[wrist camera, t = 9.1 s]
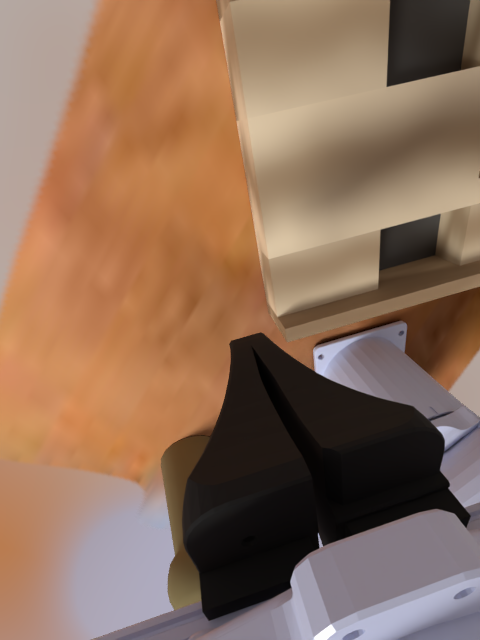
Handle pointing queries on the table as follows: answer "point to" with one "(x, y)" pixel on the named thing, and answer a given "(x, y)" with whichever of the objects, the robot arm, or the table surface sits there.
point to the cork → (175, 475)
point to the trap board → (358, 152)
